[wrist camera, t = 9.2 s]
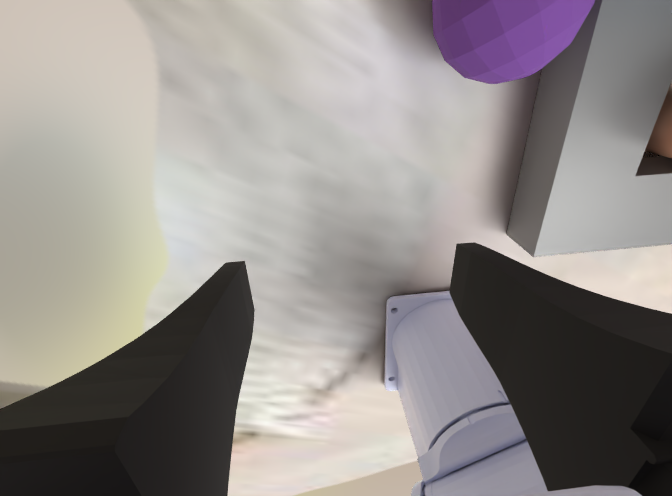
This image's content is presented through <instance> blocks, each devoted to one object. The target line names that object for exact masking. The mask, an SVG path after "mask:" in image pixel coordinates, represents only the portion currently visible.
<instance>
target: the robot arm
mask: <svg viewBox="0 0 672 496" xmlns="http://www.w3.org/2000/svg"><path fill="white" fill-rule="evenodd" d="M392 308H396V309H395V310H391V309H392ZM253 323H254V305H253V300H252V295H251V290H250V285H249V280H248V275H247V270H246V265H245V261H241V262H229V263H225V264H224V265H223V266H222V267H221V268H220V269H219V270H218V271H217V272H216V273H215V274H214V275H213V276H212V277H211V278H210V279H208V280H207V281H206V282H205V283H204V284H203V285H202V286H201V287H200V288H199V289H198V290H197V291H196V292H195V293H194V294H193V295H192V296H191V297H189V298H188V299H187V300H186V301H185V302H184V303H182V304H181V305H180V306H179V307H178V308H176V309H175V310H174V311H173V312H172V313H171V314H169V315H168V316H167V317H166V318H164V319H163V320H162V321H160V322H159V323H158V324H157V325H155V326H154V327H152V328H151V329H150V330H148V331H147V332H145V333H144V334H142V335H141V336H140V337H138V338H137V339H135V340H134V341H132V342H130V343H129V344H127V345H125V346H124V347H122V348H120V349H119V350H117V351H116V352H114V353H112V354H111V355H109V356H107V357H106V358H104V359H102V360H101V361H99V362H97V363H95V364H94V365H92V366H90V367H88V368H86V369H84V370H82V371H81V372H79V373H77V374H75V375H73V376H71V377H69V378H67V379H65V380H63V381H61V382H59V383H57V384H55V385H53V386H51V387H49V388H46V389H44V390H42V391H40V392H38V393H35V394H33V395H31V396H29V397H26V398H24V399H22V400H20V401H17V402H15V403H13V404H11V405H9V406H6V407H4V408H2V409H0V496H227V493H228V481H229V470H230V461H231V451H232V441H233V433H234V425H235V416H236V409H237V403H238V398H239V393H240V389H241V384H242V380H243V375H244V371H245V367H246V362H247V358H248V353H249V349H250V344H251V340H252V333H253ZM384 385H385V389H386V390H388V391H395V390H398V392H399V395H400V399H401V402H402V405H403V409H404V412H405V415H406V419H407V422H408V426H409V429H410V432H411V436H412V439H413V442H414V446H415V449H416V452H417V455H418V459H417V460H418V463H419V466H420V470H421V473H422V477H423V480H421V481H419V482H417V483H415V485H414V486H413V489H412V493H411V496H672V314H670V313H666V312H661V311H657V310H653V309H649V308H645V307H641V306H638V305H634V304H630V303H627V302H623V301H619V300H616V299H613V298H609V297H606V296H603V295H600V294H597V293H594V292H591V291H588V290H585V289H582V288H579V287H576V286H574V285H571V284H568V283H566V282H563V281H561V280H558V279H556V278H553V277H551V276H549V275H546V274H544V273H542V272H539V271H537V270H535V269H532V268H530V267H528V266H526V265H524V264H522V263H519V262H517V261H515V260H513V259H511V258H509V257H507V256H504V255H502V254H500V253H498V252H496V251H494V250H492V249H489V248H487V247H485V246H482V245H480V244H477V243H463V244H457V246H456V252H455V259H454V266H453V272H452V279H451V285H450V291H442V292H432V293H422V294H412V295H402V296H393V297H390V298H389V299H388V300H387V304H386V341H385V379H384Z"/></svg>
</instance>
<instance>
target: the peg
mask: <svg viewBox="0 0 672 496" xmlns="http://www.w3.org/2000/svg"><path fill="white" fill-rule="evenodd" d="M645 151H646V152H650V153H653V154H657V155H661V156H665V157H668V158H672V84H670V87H669V89H668V92H667V95H666V97H665V100H664V102H663V105H662V108H661V110H660V113H659V115H658V118H657V121H656V123H655V126H654V128H653V131H652V134H651V136H650V139H649V141H648V144H647V147H646V149H645Z"/></svg>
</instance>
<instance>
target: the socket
mask: <svg viewBox="0 0 672 496" xmlns="http://www.w3.org/2000/svg"><path fill="white" fill-rule="evenodd" d="M671 82H672V0H595V2H594V5H593V6H592V8H591V10H590V11H589V13H588V15H587V17H586V18H585V20H584V22H583V24H582V25H581V27H580V29H579V31H578V32H577V34H576V36H575V37H574V39H573V41H572V42H571V44H570V45H569V46H568V47H566V48H565V49H564V50H563V51H562V52H561V53H559V54H558V55H557V56H556V57H555V58H554V59H553V60H551V61H550V62H549V63H548V64H547V65H546V66H544V67H543V68H542V71H541V76H540V81H539V85H538V90H537V95H536V99H535V104H534V109H533V113H532V118H531V122H530V127H529V132H528V136H527V141H526V146H525V150H524V155H523V160H522V164H521V169H520V174H519V178H518V183H517V188H516V192H515V197H514V201H513V206H512V211H511V215H510V220H509V225H508V229H507V235H508V236H509V237H510V238H511V239H512V240H514V241H515V242H516V243H517V244H518V245H520V246H521V247H522V248H523V249H524V250H526V251H527V252H528V253H529V254H530V255H531V256H533V257H541V256H552V255H562V254H573V253H584V252H594V251H605V250H616V249H626V248H637V247H648V246H658V245H669V244H672V158H668V157H665V156H658V157H645V158H642V157H643V154H644V152H645V149H646V147H647V144H648V141H649V139H650V136H651V134H652V131H653V128H654V126H655V123H656V121H657V118H658V115H659V113H660V110H661V108H662V105H663V102H664V100H665V97H666V95H667V92H668V89H669V87H670V84H671Z"/></svg>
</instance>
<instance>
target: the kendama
mask: <svg viewBox="0 0 672 496" xmlns="http://www.w3.org/2000/svg"><path fill="white" fill-rule="evenodd" d="M594 2H595V0H433V1H432V9H433V35H434V37H435V39H436V42H437V44H438V46H439V48H440V51H441V53H442V55H443V58H444V60H445V61H446V62H447V63H448V64H449V65H450V66H452V67H453V68H454V69H455V70H456V71H457V72H459V73H460V74H461V75H462V76H463V77H464V78H468V79H472V80H476V81H480V82H484V83H488V84H498V83H502V82H507V81H512V80H517V79H521V78H525V77H527V76H530V75H532V74H534V73H536V72H537V71H539V70H540V69H542V68H543V67H544V66H546V65H547V64H548V63H549V62H550V61H551V60H553V59H554V58H555V57H556V56H557V55H558V54H559V53H561V52H562V51H563V50H564V49H565V48H566V47H568V46H569V45H570V44H571V42H572V41H573V39H574V37H575V36H576V34H577V32H578V31H579V29H580V27H581V25H582V24H583V22H584V20H585V18H586V17H587V15H588V13H589V11H590V10H591V8H592V6H593V5H594Z"/></svg>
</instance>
